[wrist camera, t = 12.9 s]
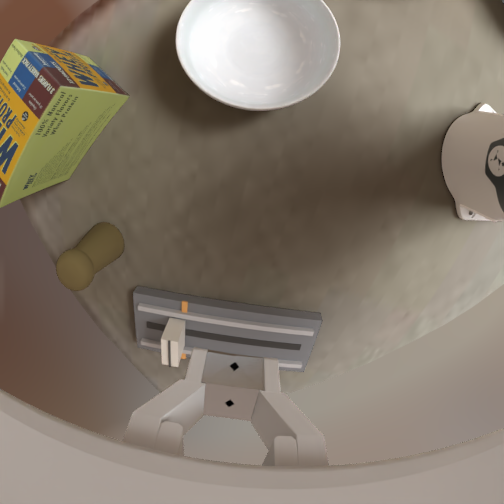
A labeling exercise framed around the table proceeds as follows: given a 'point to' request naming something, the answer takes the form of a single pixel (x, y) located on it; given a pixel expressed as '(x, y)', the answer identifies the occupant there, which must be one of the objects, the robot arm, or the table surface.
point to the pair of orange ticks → (184, 309)
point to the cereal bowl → (258, 50)
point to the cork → (89, 256)
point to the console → (227, 327)
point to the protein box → (49, 115)
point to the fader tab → (173, 342)
